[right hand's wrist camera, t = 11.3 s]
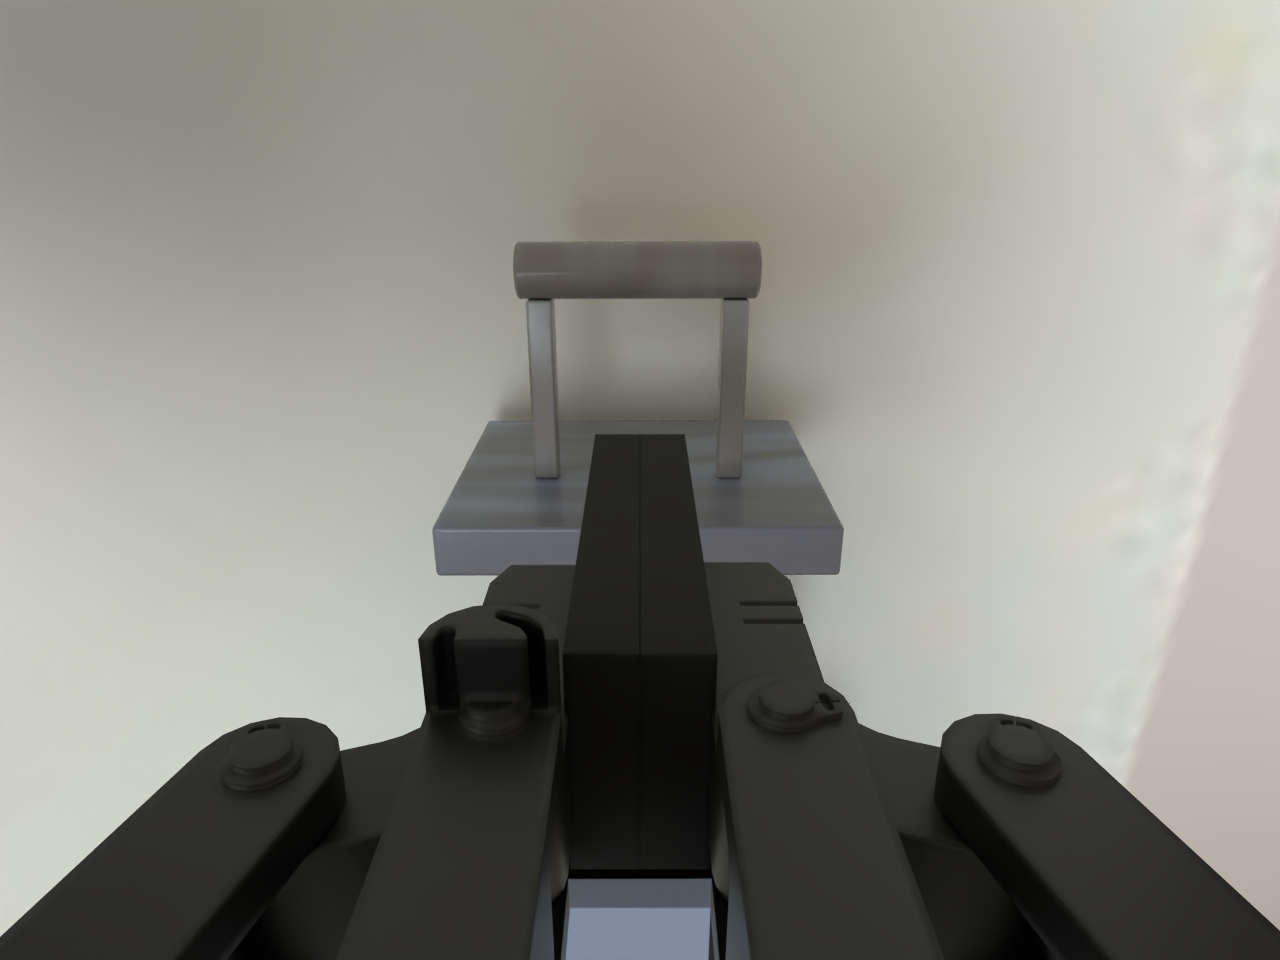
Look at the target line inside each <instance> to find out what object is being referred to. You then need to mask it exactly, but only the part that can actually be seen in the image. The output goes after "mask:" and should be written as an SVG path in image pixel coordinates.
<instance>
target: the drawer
mask: <svg viewBox="0 0 1280 960" xmlns="http://www.w3.org/2000/svg"><path fill="white" fill-rule="evenodd" d="M513 272H514V284H515V290H516V294H517V296H518V298H520V299H528V300H527V302H526V312H527V332H528V351H529V371H530V391H531V410H532V421H490V422H488V424H487V426H486V428H485V430H484V432H483V434H482V436H481V437H480V439H479V441H478V443H477V445H476V447H475V449H474V451H473V453H472V455H471V456H470V458H469V460H468V462H467V464H466V466H465V468H464V470H463V472H462V474H461V476H460V477H459V479H458V481H457V483H456V485H455V487H454V489H453V491H452V493H451V495H450V496H449V498H448V500H447V502H446V504H445V506H444V508H443V510H442V512H441V514H440V515H439V517H438V519H437V521H436V523H435V525H434V527H433V530H432V531H433V541H434V551H435V561H436V571H437V573H438V575H500V574H501V573H503V572H504V571H505V570H506V569H507V568H508V567H510V566H511V565H576V560H577V553H578V546H579V539H580V533H581V526H582V519H583V513H584V506H585V499H586V492H587V486H588V479H589V472H590V466H591V459H592V452H593V446H594V439H595V434H685V439H686V446H687V452H688V459H689V466H690V472H691V479H692V486H693V492H694V499H695V506H696V513H697V519H698V526H699V533H700V539H701V546H702V553H703V560H704V562H769V563H770V564H771V565H773V566H774V567H775V568H776V569H777V570H778V571H780V572H781V573H782V574H783V575H836V574H838V573H839V571H840V563H841V552H842V542H843V531H844V529H843V526H842V524H841V522H840V520H839V518H838V516H837V514H836V513H835V511H834V509H833V507H832V505H831V503H830V501H829V499H828V497H827V495H826V493H825V491H824V489H823V487H822V486H821V484H820V482H819V480H818V478H817V476H816V474H815V472H814V470H813V468H812V466H811V464H810V462H809V461H808V459H807V457H806V455H805V453H804V451H803V449H802V447H801V445H800V443H799V441H798V439H797V437H796V436H795V434H794V432H793V430H792V428H791V426H790V424H789V422H788V421H786V420H785V421H744V410H745V388H746V366H747V343H748V321H749V300H748V299H747V298H756V297H757V296H758V294H759V291H760V285H761V272H762V257H761V248H760V245H759V243H758V242H756V241H737V242H518V243H516V245H515V248H514V257H513ZM691 298H721V321H720V351H719V382H718V412H717V421H559V413H558V387H557V361H556V335H555V309H554V299H691ZM568 879H712V867H711V857H710V861H709V869H571V861H569V871H568Z"/></svg>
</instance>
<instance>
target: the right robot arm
mask: <svg viewBox="0 0 1280 960" xmlns="http://www.w3.org/2000/svg"><path fill="white" fill-rule="evenodd" d="M418 642H419V651H420V660H421V669H422V678H423V687H424V696H425V705H426V714H425V717H424V720H423V722H422V725H421V727H420V728H418V729H416V730H414V731H412V732H410V733H407V734H405V735H403V736H400V737H397V738H394V739H390V740H387V741H383V742H380V743H375V744H370V745H366V746H361V747H356V748H352V749H347V750H343V751H340V748H339V742H338V738H337V737H336V736H335V734H334V733H333V732H332V731H331V730H330V729H329V728H328V727H327V726H326V725H324V724H321V723H318V722H315V721H313V720H310V719H307V718H282V717H279V718H274V719H269V720H263V721H259V722H255V723H250V724H248V725H246V726H243V727H241V728H238V729H236V730H234V731H231V732H229V733H227V734H224V735H222V736H221V737H220V738H218V739H217V740H215V741H214V742H212V743H211V744H210V745H208V746H207V747H205V748H204V749H203V750H201V751H200V752H199V753H198V754H197V755H196V756H194V757H193V758H192V759H191V760H190V761H189V762H188V763H187V764H186V765H185V766H184V767H183V768H182V769H180V770H179V771H178V772H177V773H176V774H175V775H174V776H173V777H172V778H171V779H170V780H169V781H168V782H166V783H165V784H164V785H163V786H162V787H161V788H160V789H159V790H158V791H157V792H156V793H155V794H154V795H152V796H151V797H150V798H149V799H148V800H147V801H146V802H145V803H144V804H143V805H142V806H141V807H140V808H138V809H137V810H136V811H135V812H134V813H133V814H132V815H131V816H130V817H129V818H128V819H127V820H126V821H124V822H123V823H122V824H121V825H120V826H119V827H118V828H117V829H116V830H115V831H114V832H113V833H112V834H111V835H109V836H108V837H107V838H106V839H105V840H104V841H103V842H102V843H101V844H100V845H99V846H98V847H97V848H95V849H94V850H93V851H92V852H91V853H90V854H89V855H88V856H87V857H86V858H85V859H84V860H83V861H81V862H80V863H79V864H78V865H77V866H76V867H75V868H74V869H73V870H72V871H71V872H70V873H69V874H67V875H66V876H65V877H64V878H63V879H62V880H61V881H60V882H59V883H58V884H57V885H56V886H55V887H53V888H52V889H51V890H50V891H49V892H48V893H47V894H46V895H45V896H44V897H43V898H42V899H41V900H39V901H38V902H37V903H36V904H35V905H34V906H33V907H32V908H31V909H30V910H29V911H28V912H27V913H26V914H24V915H23V916H22V917H21V918H20V919H19V920H18V921H17V922H16V923H15V924H14V925H13V926H12V927H10V928H9V929H8V930H7V931H6V932H5V933H4V934H3V935H2V936H1V937H0V960H566V948H567V937H568V925H569V914H570V908H569V884H568V871H569V861H571V869H709V861H710V857H711V867H712V884H711V908H710V932H709V957H708V960H1280V931H1279V930H1278V929H1277V928H1276V927H1275V926H1274V925H1273V924H1272V923H1271V922H1270V921H1269V920H1267V919H1266V918H1265V917H1264V916H1263V915H1262V914H1261V913H1260V912H1259V911H1258V910H1257V909H1256V908H1254V907H1253V906H1252V905H1251V904H1250V903H1249V902H1248V901H1247V900H1246V899H1245V898H1244V897H1242V896H1241V895H1240V894H1239V893H1238V892H1237V891H1236V890H1235V889H1234V888H1233V887H1232V886H1231V885H1229V884H1228V883H1227V882H1226V881H1225V880H1224V879H1223V878H1222V877H1221V876H1220V875H1219V874H1218V873H1217V872H1215V871H1214V870H1213V869H1212V868H1211V867H1210V866H1209V865H1208V864H1207V863H1206V862H1205V861H1204V860H1202V859H1201V858H1200V857H1199V856H1198V855H1197V854H1196V853H1195V852H1194V851H1193V850H1192V849H1190V848H1189V847H1188V846H1187V845H1186V844H1185V843H1184V842H1183V841H1182V840H1181V839H1180V838H1178V837H1177V836H1176V835H1175V834H1174V833H1173V832H1172V831H1171V830H1170V829H1169V828H1168V827H1167V826H1166V825H1164V824H1163V823H1162V822H1161V821H1160V820H1159V819H1158V818H1157V817H1156V816H1155V815H1154V814H1153V813H1151V812H1150V811H1149V810H1148V809H1147V808H1146V807H1145V806H1144V805H1143V804H1142V803H1141V802H1140V801H1138V800H1137V799H1136V798H1135V797H1134V796H1133V795H1132V794H1131V793H1130V792H1129V791H1128V790H1127V789H1125V788H1124V787H1123V786H1122V785H1121V784H1120V783H1119V782H1118V781H1117V780H1116V779H1115V778H1114V777H1112V776H1111V775H1110V774H1109V773H1108V772H1107V771H1106V770H1105V769H1104V768H1103V767H1102V766H1101V765H1099V764H1098V763H1097V762H1096V761H1095V760H1094V759H1093V758H1092V757H1091V756H1090V755H1089V754H1087V753H1086V752H1085V751H1084V750H1083V749H1082V748H1081V747H1080V746H1078V745H1077V744H1075V743H1074V742H1072V741H1071V740H1070V739H1068V738H1067V737H1065V736H1064V735H1063V734H1061V733H1060V732H1058V731H1056V730H1054V729H1051V728H1049V727H1047V726H1044V725H1042V724H1039V723H1037V722H1035V721H1032V720H1030V719H1025V718H1021V717H1015V716H1010V715H1005V714H975V715H972V716H969V717H966V718H963V719H960V720H957V721H954V723H953V724H952V725H951V726H950V727H949V728H948V729H947V730H946V731H945V732H944V733H943V736H942V742H941V748H940V747H936V746H931V745H926V744H922V743H917V742H913V741H908V740H903V739H899V738H895V737H892V736H889V735H885V734H882V733H878V732H876V731H874V730H872V729H870V728H867V727H865V726H863V725H861V724H859V723H858V721H857V718H856V716H855V713H854V711H853V709H852V708H851V706H850V705H849V703H848V702H847V700H846V699H845V698H844V696H843V695H842V694H840V693H839V692H837V691H836V690H834V689H833V688H832V687H830V686H829V685H827V684H826V683H824V680H823V677H822V674H821V671H820V668H819V665H818V662H817V659H816V656H815V653H814V650H813V647H812V644H811V641H810V638H809V635H808V632H807V629H806V626H805V624H803V617H802V614H801V611H800V608H799V606H797V599H796V597H795V594H794V591H793V588H792V585H791V582H790V580H789V579H788V578H787V577H785V576H784V575H783V574H782V573H781V572H780V571H778V570H777V569H776V568H775V567H774V566H773V565H771V564H770V563H769V562H704V560H703V553H702V546H701V539H700V533H699V526H698V519H697V513H696V506H695V499H694V492H693V486H692V479H691V472H690V466H689V459H688V452H687V446H686V439H685V434H595V439H594V446H593V452H592V459H591V466H590V472H589V479H588V486H587V492H586V499H585V506H584V513H583V519H582V526H581V533H580V539H579V546H578V553H577V560H576V565H511V566H510V567H508V568H507V569H506V570H505V571H504V572H503V573H501V574H500V575H499V576H498V577H497V578H496V579H494V580H493V581H492V582H491V583H490V585H489V588H488V591H487V594H486V597H485V600H484V603H483V605H482V606H473V607H470V608H466V609H463V610H460V611H456V612H453V613H450V614H448V615H446V616H444V617H443V618H441V619H439V620H438V621H436V622H434V623H433V624H431V625H429V627H428V628H427V629H426V630H425V632H424V633H423V634H422V635H421V637H420V638H419V639H418Z"/></svg>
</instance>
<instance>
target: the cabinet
mask: <svg viewBox="0 0 1280 960" xmlns="http://www.w3.org/2000/svg"><path fill="white" fill-rule="evenodd" d="M568 884H569V908H570V914H569V925H568V937H567V948H566V960H708V957H709V932H710V908H711V884H712V879H568Z"/></svg>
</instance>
